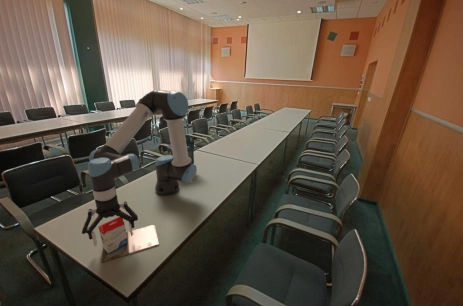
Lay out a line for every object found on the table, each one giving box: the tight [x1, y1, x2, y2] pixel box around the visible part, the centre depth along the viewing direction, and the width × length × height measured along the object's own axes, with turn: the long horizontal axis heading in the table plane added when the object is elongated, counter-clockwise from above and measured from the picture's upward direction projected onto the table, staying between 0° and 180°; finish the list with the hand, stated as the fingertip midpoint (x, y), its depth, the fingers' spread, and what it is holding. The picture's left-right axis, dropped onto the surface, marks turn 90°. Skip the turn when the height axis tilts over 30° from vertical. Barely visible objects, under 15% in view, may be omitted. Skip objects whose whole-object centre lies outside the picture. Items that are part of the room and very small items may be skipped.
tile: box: [127, 224, 160, 255], centre depth 95 cm, size 12×14×1 cm
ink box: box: [97, 216, 128, 254], centre depth 87 cm, size 8×5×15 cm, turn 141°
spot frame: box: [101, 231, 130, 264], centre depth 90 cm, size 10×14×1 cm
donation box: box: [166, 134, 195, 165], centre depth 159 cm, size 16×16×28 cm
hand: (114, 238), depth 88 cm, fingers open, 13 cm apart
